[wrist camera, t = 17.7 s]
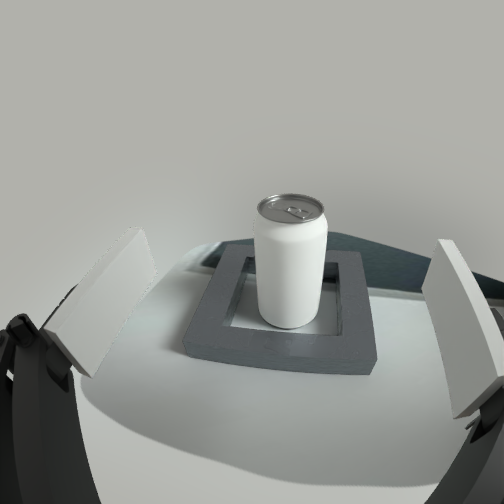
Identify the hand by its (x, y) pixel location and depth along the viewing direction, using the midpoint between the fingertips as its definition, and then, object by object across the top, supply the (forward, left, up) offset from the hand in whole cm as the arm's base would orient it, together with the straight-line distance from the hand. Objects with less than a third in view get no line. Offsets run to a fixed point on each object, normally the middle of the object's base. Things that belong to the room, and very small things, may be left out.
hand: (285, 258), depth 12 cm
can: (+1, -12, -15) cm, 19 cm away
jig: (+1, -12, -15) cm, 19 cm away
